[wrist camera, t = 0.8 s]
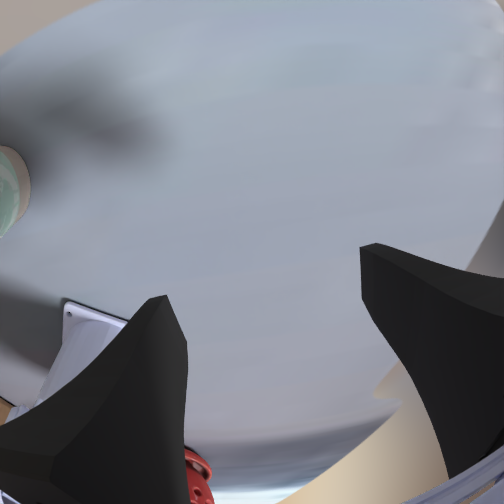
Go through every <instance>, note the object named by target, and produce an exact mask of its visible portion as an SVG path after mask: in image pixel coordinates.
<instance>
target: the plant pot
mask: <svg viewBox="0 0 504 504" xmlns="http://www.w3.org/2000/svg"><path fill="white" fill-rule="evenodd" d="M185 462H186V471H187V480H188V488H189V494H190V500H191V504H215V503H214V499H213V496H212V493H211V491H210V488H209V486H208V484H207V483H206V482H208V481H209V480H210V478H211V476H212V471H211V468H210V466H209V465H208V463H207V462H206V461H205V460H204V459H203V458H201V457H200V456H199V455H197V454H195V453H193V452H191V451H189V450H187V449H185Z"/></svg>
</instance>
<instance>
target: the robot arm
mask: <svg viewBox="0 0 504 504" xmlns="http://www.w3.org/2000/svg"><path fill="white" fill-rule="evenodd" d="M360 264H361V289H362V300H363V302H364V304H365V306H366V308H367V310H368V312H369V314H370V316H371V318H372V320H373V321H374V323H375V324H376V326H377V327H378V329H379V330H380V332H381V333H382V334H383V336H384V337H385V339H386V340H387V342H388V343H389V345H390V346H391V347H392V349H393V350H394V352H395V353H396V355H397V356H398V358H399V359H400V360H401V362H402V363H403V365H404V366H405V368H406V370H407V371H408V373H409V375H410V376H411V378H412V380H413V382H414V384H415V386H416V388H417V390H418V393H419V395H420V397H421V399H422V401H423V403H424V406H425V408H426V410H427V412H428V415H429V417H430V420H431V422H432V425H433V427H434V430H435V433H436V436H437V439H438V442H439V444H440V447H441V451H442V454H443V458H444V461H445V465H446V468H447V472H448V476H449V480H448V481H446V482H445V483H443V484H441V485H439V486H437V487H435V488H433V489H431V490H429V491H427V492H425V493H423V494H421V495H419V496H417V497H415V498H413V499H411V500H408V501H406V502H403V503H401V504H459V503H461V502H463V501H464V500H466V499H468V498H469V497H471V496H473V495H474V494H476V493H477V492H479V491H480V490H482V489H483V488H485V487H486V486H488V485H489V484H491V483H492V482H494V481H495V480H496V479H497V480H496V482H495V484H494V486H493V487H492V488H490V489H489V490H488V491H486V492H485V493H484V494H482V495H481V496H479V497H478V498H476V499H475V500H473V501H472V502H471V503H469V504H504V278H496V277H490V276H485V275H480V274H476V273H471V272H467V271H463V270H459V269H455V268H452V267H449V266H445V265H442V264H439V263H436V262H433V261H430V260H427V259H424V258H421V257H418V256H415V255H412V254H410V253H407V252H404V251H401V250H398V249H395V248H393V247H389V246H386V245H383V244H379V243H374V244H370V245H366V246H362V247H360ZM69 312H70V313H71V314H70V313H69ZM187 377H188V352H187V341H186V339H185V337H184V334H183V332H182V330H181V328H180V325H179V323H178V321H177V318H176V316H175V314H174V311H173V309H172V307H171V304H170V302H169V299H168V297H167V295H163V296H158V297H154V298H150V299H148V300H147V301H146V302H145V303H144V304H143V305H142V306H141V308H140V309H139V310H138V311H137V312H136V313H135V314H134V316H133V317H132V318H131V319H130V320H129V321H128V322H127V321H124V320H121V319H118V318H115V317H112V316H109V315H106V314H103V313H100V312H98V311H95V310H92V309H89V308H87V307H84V306H81V305H79V304H76V303H73V302H70V301H69V302H66V304H65V305H64V314H63V335H62V347H61V349H60V351H59V353H58V355H57V357H56V359H55V361H54V363H53V365H52V367H51V369H50V371H49V373H48V376H47V378H46V380H45V382H44V384H43V386H42V389H41V391H40V393H39V395H38V398H37V400H36V402H35V404H34V406H33V408H32V409H31V410H30V409H28V408H27V407H26V406H25V405H20V407H18V406H17V407H12V408H11V410H10V412H9V415H8V417H7V419H6V421H5V424H3V425H1V426H0V504H191V500H190V494H189V488H188V480H187V471H186V462H185V448H184V415H185V402H186V390H187Z"/></svg>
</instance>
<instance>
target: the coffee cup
mask: <svg viewBox="0 0 504 504" xmlns="http://www.w3.org/2000/svg"><path fill="white" fill-rule="evenodd" d="M30 194H31V184H30V177H29V172H28V169H27V167H26V164H25V163H24V161H23V159H22V158H21V156H20V155H19V154H18V153H17V152H16V151H15V150H13V149H12V148H10V147H7V146H0V238H1V237H2V236H3V235H4V234H5V233H6V232H7V231H8V230H9V229H10V228H11V227H12V226H13V225H14V224H15V223H16V222H17V221H18V220H19V219H20V218H21V217H22V216H23V214H24V213H25V211H26V209H27V207H28V204H29V200H30Z"/></svg>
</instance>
